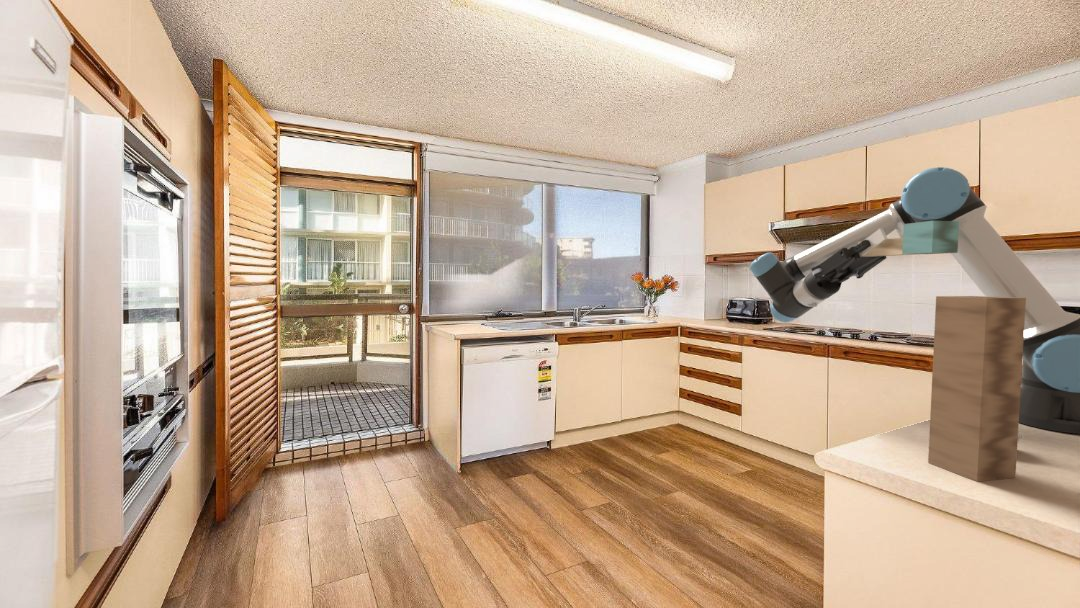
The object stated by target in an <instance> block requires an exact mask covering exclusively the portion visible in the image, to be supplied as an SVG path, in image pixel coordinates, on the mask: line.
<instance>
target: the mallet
mask: <svg viewBox="0 0 1080 608" xmlns="http://www.w3.org/2000/svg"><path fill="white" fill-rule="evenodd" d="M958 233H959V221H926V222H918V223H909V224H904V226H903V235H902V237H903V238H894V239H887V240H886V241H884V242H883V243H882V244H880V245H879V246H877V247H876V248H874V249H873V250H872V251H870V252H869V253H867V254H866V255H865V256H861V254H859V255H860V257H875V256H886V257H890V256H891V257H893V256H910V255H911V256H912V255H913V256H914V255H935V254H936V255H940V254H941V255H942V254H951V253H958ZM861 242H862V241H859V242H858V244H859V243H861Z"/></svg>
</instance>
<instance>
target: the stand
mask: <svg viewBox="0 0 1080 608" xmlns="http://www.w3.org/2000/svg"><path fill="white" fill-rule="evenodd" d="M1025 306H1026V298H1012V297H986V296H982V295H980V296H979V295H978V296H977V295H961V296H960V295H957V296H956V295H953V296H952V295H951V296H949V295H948V296H947V295H946V296H945V295H944V296H943V295H941V296H939V295H938V296H937V295H936V296H935V312H934V313H935V315H934V330H933V331H934V334H933V356H932V357H933V358H932V375H931V398H930V416H929V417H930V419H929V435H928V436H929V437H928V441H929V442H928V454H927V455H928V458H927V463H928V464H930V465H933V466H936V467H938V468H941V469H943V470H946V471H949V472H951V473H954V474H956V475H959V476H961V477H965V478H966V479H969V480H972V481H975V482H984V481H985V482H986V481H995V480H1006V479H1015V478H1016V476H1017V475H1016V473H1017V457H1018V456H1017V455H1018V441H1019V440H1018V430H1019V426H1020V425H1019V408H1020V391H1021V381H1022V365H1023V340H1024V323H1025Z"/></svg>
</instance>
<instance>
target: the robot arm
mask: <svg viewBox="0 0 1080 608" xmlns="http://www.w3.org/2000/svg"><path fill="white" fill-rule="evenodd" d="M986 209H987V205H986V204H985V203H984V201H983V200H982V199H981V198H980V197H979V195H977V193H976V192H975V191H974V190H973V189H972V188H971V187H970V182H969V180H968V179H967V177H966V175H964V174H963V173H962V172H960V171H958V170H955V169H954V168H949V167H943V166H941V167H939V166H937V167H932V168H927V169H924V170H922V171H920V172H918V173H917V174H915V175H914V176H912V177H911V178H910V179H909V180H908V181H907V182H906V183H905V185H904V187H903V188H902V191H901V196H900V198H899V199H897V200H895V201H893V202H892V203H890V204H889V207H888V208H887V209H886V210H884V211H882V212H880V213H878V214H876V215H875V216H872V217H870V218H867V219H866V220H863V221H862V222H860V223H857V224H856V225H854V226H852V227H850V228H848V229H845V230H843V231H841V232H839V233H838V234H836V235H833V236H831V237H829V238H827V239H825V240H824V241H821V242H819V243H817V244H815V245H813V246H811V247H809V248H807V249H805V250H803V251H801V252H798V253H797V254H795V255H793V256H790V257H789V258H787V259H785V260H782V261H780V259H779V257H777V256H776V255H775V253H773V252H771V251H770V252H766V253H764V254H762V255H760V256H758V257H757V258H755V259H754V260H753V261H752V262H751V263H750V265H749V270H750V271H751V272H752V274H753V276H754V277H755V278H756V279H757V281H758V282H759V284H760V285H761V286H762V288H763V289H764V291H765V292H766V294H767V295H768V296H769V297H770V299H771V300H772V302H771V303H770V305H769V309H770V314H771V316H773V318H774V319H775V320H777V321H779V322H780V323H791V322H793V321H795V320H797V319H799V318H800V317H802V316H803V315H804V314H806V313H807V312H809V311H811V310H812V309H813V308H817V307H818V305H819V304H821V303H822V302H824V301H826V300H827V299H829V298H830V297H832V296H834V295H835V294H836V293H838V292H839V291H840V289H841V286H842V283H844V282H846V281H848V280H849V279H850V278H852V277H856V279H862V278H863V277H864V275H865V274H866V273H868V272H869V271H871V270H872V269H873V268H875V267H877V266H878V265H880V264H881V263H882V262H883V261H885V260H887V258H888V256H875V257H860V255H859V254H861V256H865V255H866V254H867V253H869V252H870V251H872V250H873V249H874V248H876V247H877V246H879V245H880V244H882V243H883V242H884V241H886V240H887V239H894V238H903V226H904V224H909V223H918V222H926V221H959V233H958V253H950V254H951V255H952V257H953V258H954V259H955V260H956V261H957V263H958V264H959V265H960V266H961V268H962V269H963V270H964V272H965V273H966V274H967V275H968V277H969V278H970V279H971V280H972V282H973V283H974V284H975V285H976V287H977V288H978V289H979V291H981V292H982V294H983V295H984V297H1012V298H1026V306H1025V323H1024V340H1023V357H1022V374H1021V391H1020V408H1019V423H1020V424H1023V425H1025V426H1031V427H1034V428H1038V429H1043V430H1049V431H1054V432H1061V433H1068V434H1078V435H1080V314H1079V313H1074V312H1069V311H1065V310H1064V309H1063V308H1062V306H1061V305H1060V304H1059V303H1058V302H1057V300H1055V298H1054V297H1053V296H1052V295H1051V294H1050V292H1049V291H1048V290H1047V289H1046V288H1045V287H1044V286H1043V284H1041V282H1040V281H1039V280H1038V278H1037V277H1036V276H1035V275H1034V274H1033V273H1032V272H1031V270H1030V268H1028V267H1027V266H1026V265H1025V263H1024V262H1023V261H1022V260H1021V259H1020V258H1019V256H1018V255H1017V254H1016V253H1015V252H1014V250H1013V249H1012V248H1011V247H1010V246H1009V245H1008V243H1007V242H1006V241H1005V240H1004V239H1003V237H1001V235H1000V233H998V232H997V231H996V229H995V228H994V227H993V226H992V225H991V223H990V222H989V221H988V220H987V219H986V218H985V213H986ZM859 241H862V242H861V243H859V244H858V242H859Z"/></svg>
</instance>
